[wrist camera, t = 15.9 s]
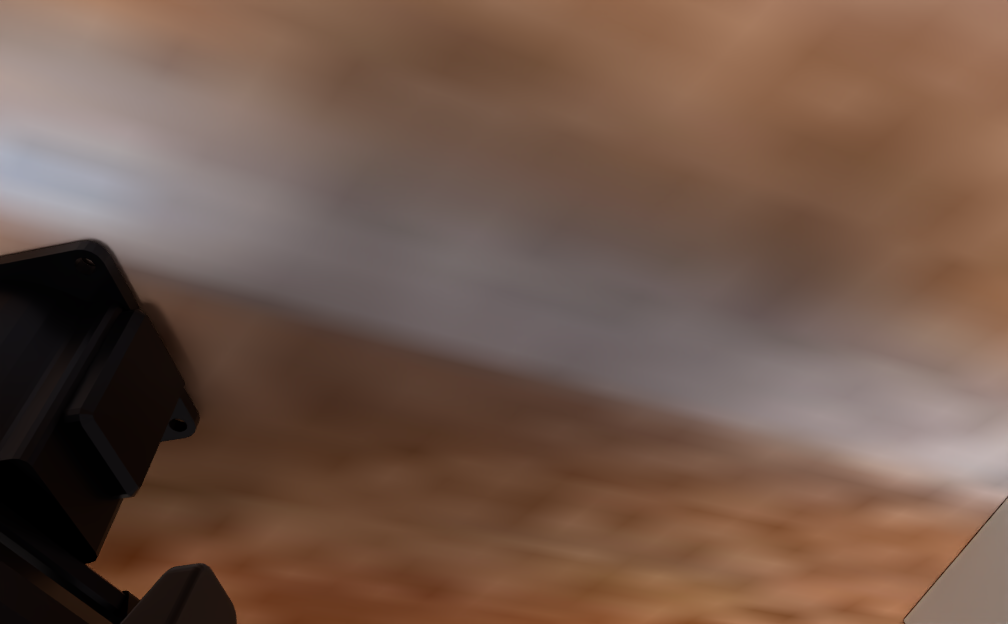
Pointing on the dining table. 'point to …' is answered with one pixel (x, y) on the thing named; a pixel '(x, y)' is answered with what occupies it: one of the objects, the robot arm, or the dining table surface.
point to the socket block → (972, 581)
